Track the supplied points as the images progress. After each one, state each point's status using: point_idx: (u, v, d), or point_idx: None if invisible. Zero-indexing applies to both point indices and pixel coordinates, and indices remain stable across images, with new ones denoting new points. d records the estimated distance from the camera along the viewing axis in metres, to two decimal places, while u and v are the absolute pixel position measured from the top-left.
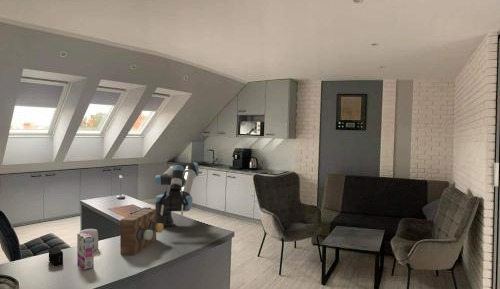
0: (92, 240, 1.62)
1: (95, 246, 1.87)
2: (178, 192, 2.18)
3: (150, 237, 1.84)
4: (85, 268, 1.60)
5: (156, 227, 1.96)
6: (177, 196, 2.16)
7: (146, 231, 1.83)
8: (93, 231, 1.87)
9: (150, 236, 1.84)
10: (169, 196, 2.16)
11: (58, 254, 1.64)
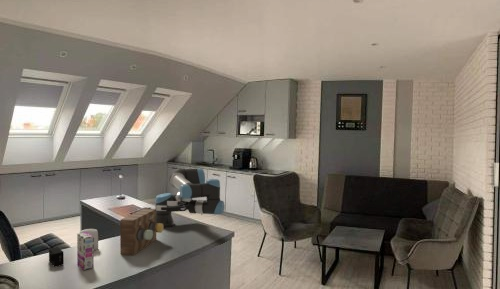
0: (92, 240, 1.62)
1: (95, 246, 1.87)
2: None
3: (150, 237, 1.84)
4: (85, 268, 1.60)
5: (156, 227, 1.96)
6: None
7: (146, 231, 1.83)
8: (93, 231, 1.87)
9: (150, 236, 1.84)
10: None
11: (59, 254, 1.65)
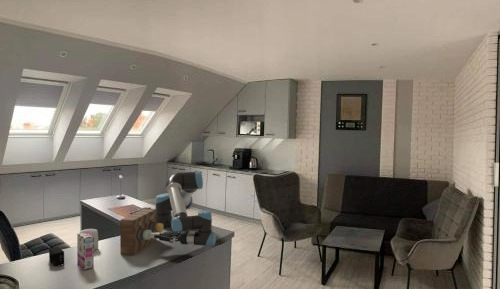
0: (92, 240, 1.62)
1: (95, 246, 1.87)
2: None
3: (149, 237, 1.84)
4: (85, 268, 1.60)
5: (156, 227, 1.96)
6: None
7: (145, 231, 1.84)
8: (93, 231, 1.87)
9: (149, 236, 1.84)
10: None
11: (59, 254, 1.65)
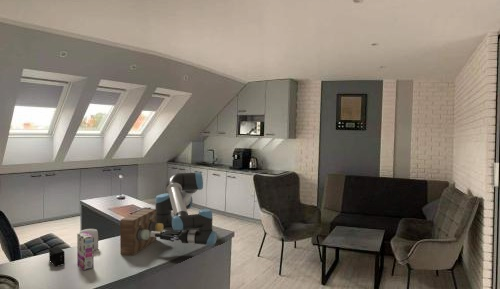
0: (92, 240, 1.62)
1: (95, 246, 1.87)
2: None
3: (147, 237, 1.85)
4: (85, 268, 1.60)
5: (156, 227, 1.96)
6: None
7: (143, 231, 1.84)
8: (93, 231, 1.87)
9: (146, 236, 1.84)
10: None
11: (60, 253, 1.65)
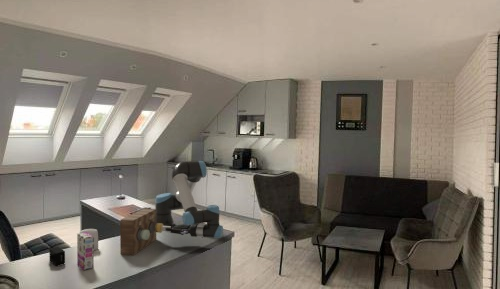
0: (92, 240, 1.62)
1: (95, 246, 1.87)
2: None
3: (147, 237, 1.85)
4: (85, 268, 1.60)
5: (156, 227, 1.96)
6: None
7: (143, 231, 1.84)
8: (93, 231, 1.87)
9: (146, 236, 1.84)
10: None
11: (60, 253, 1.65)
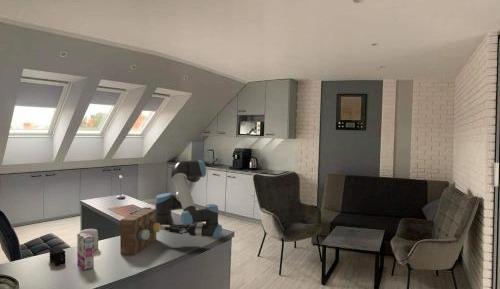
0: (92, 240, 1.62)
1: (95, 246, 1.87)
2: None
3: (147, 237, 1.85)
4: (85, 268, 1.60)
5: (153, 227, 1.96)
6: None
7: (143, 231, 1.84)
8: (93, 231, 1.87)
9: (146, 236, 1.84)
10: None
11: (60, 253, 1.66)
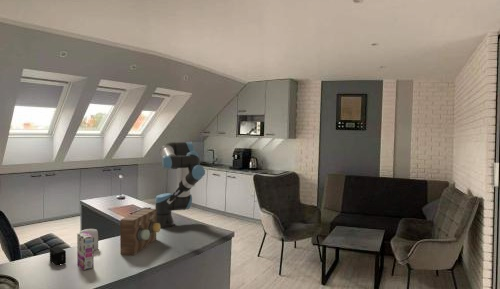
0: (92, 240, 1.62)
1: (95, 246, 1.87)
2: None
3: (147, 237, 1.85)
4: (85, 268, 1.60)
5: (153, 227, 1.96)
6: None
7: (143, 231, 1.84)
8: (93, 231, 1.87)
9: (146, 236, 1.84)
10: (180, 193, 1.98)
11: (61, 253, 1.66)
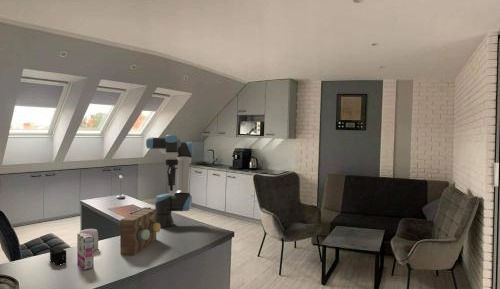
0: (92, 240, 1.62)
1: (95, 246, 1.87)
2: (174, 166, 2.06)
3: (147, 237, 1.85)
4: (85, 268, 1.60)
5: (153, 227, 1.96)
6: (174, 172, 2.04)
7: (143, 231, 1.84)
8: (93, 231, 1.87)
9: (146, 236, 1.84)
10: (174, 173, 2.02)
11: (62, 253, 1.66)
